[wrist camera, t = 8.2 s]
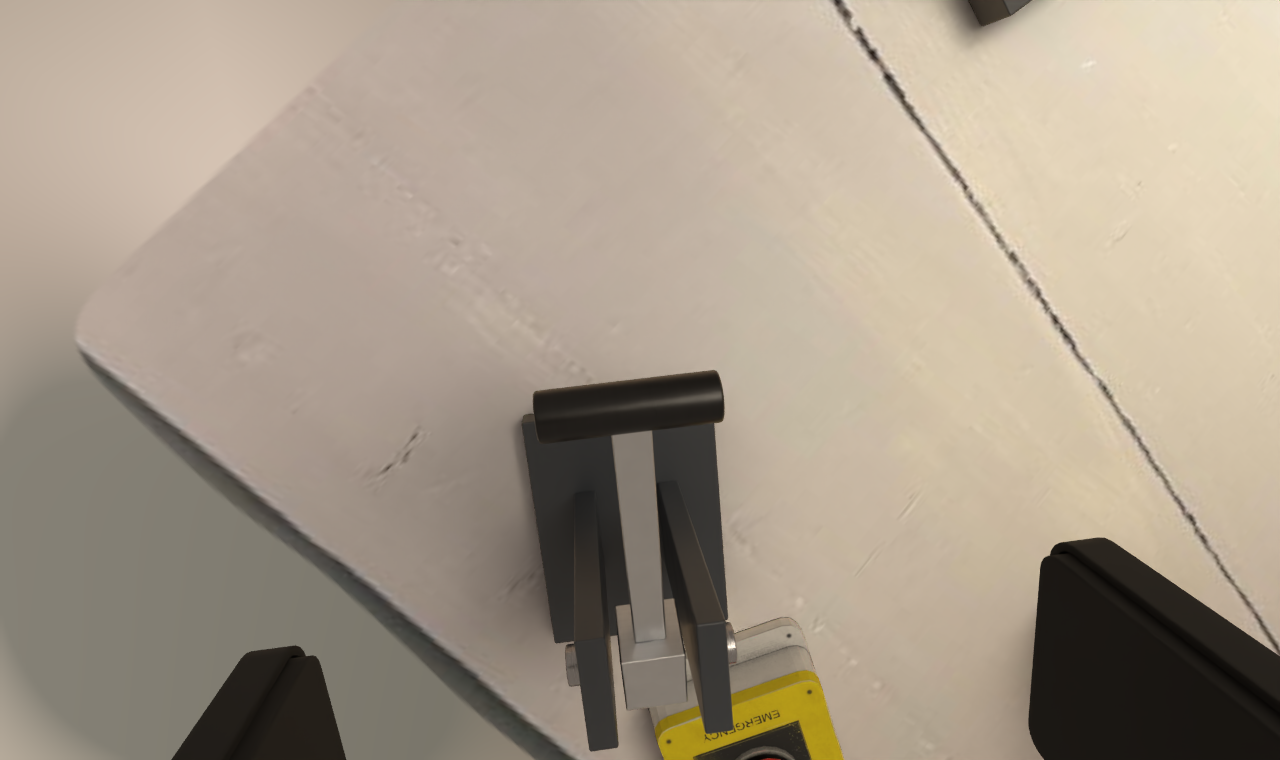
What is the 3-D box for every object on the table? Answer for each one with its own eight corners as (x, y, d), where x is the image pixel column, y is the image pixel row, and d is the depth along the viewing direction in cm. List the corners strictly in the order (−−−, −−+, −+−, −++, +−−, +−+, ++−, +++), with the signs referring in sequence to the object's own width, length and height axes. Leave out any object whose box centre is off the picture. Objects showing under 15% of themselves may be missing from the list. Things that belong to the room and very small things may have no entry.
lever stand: (523, 414, 34) (493, 545, 22) (707, 392, 34) (781, 508, 22) (555, 629, 37) (545, 848, 25) (723, 605, 38) (795, 809, 25)
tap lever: (532, 371, 20) (532, 423, 18) (710, 350, 20) (729, 399, 18) (584, 657, 27) (587, 717, 25) (713, 639, 27) (726, 696, 25)
